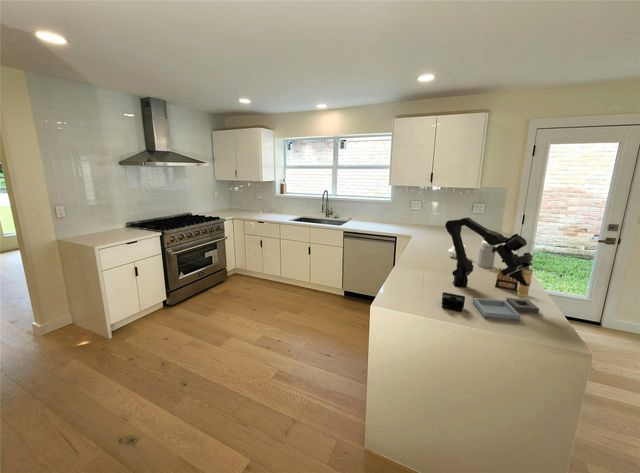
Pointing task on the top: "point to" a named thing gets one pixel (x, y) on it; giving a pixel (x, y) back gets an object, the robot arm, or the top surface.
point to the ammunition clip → (506, 282)
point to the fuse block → (523, 305)
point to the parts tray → (496, 309)
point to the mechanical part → (452, 251)
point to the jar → (486, 255)
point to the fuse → (527, 277)
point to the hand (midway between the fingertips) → (528, 283)
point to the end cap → (453, 302)
